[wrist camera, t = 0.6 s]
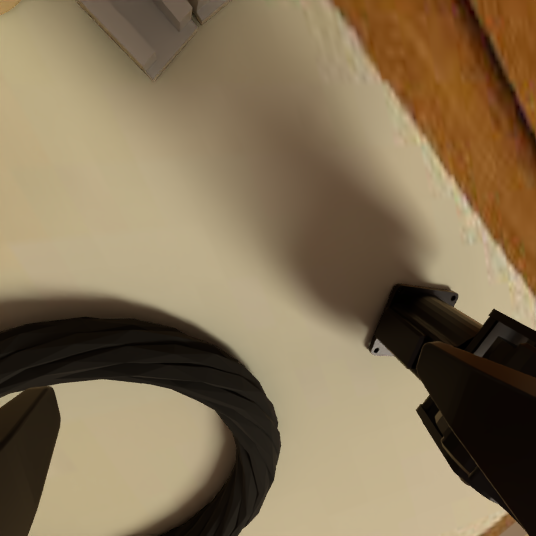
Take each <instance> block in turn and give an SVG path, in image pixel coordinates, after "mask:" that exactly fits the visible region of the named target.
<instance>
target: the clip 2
mask: <svg viewBox="0 0 536 536" xmlns="http://www.w3.org/2000/svg"><path fill="white" fill-rule="evenodd" d="M187 1H188V2H189V4H190V5H191V6H192V7H193V8H192V11H193V13H194V14H195V16H196V17H197V19H198V21H199V22H200V24H201V25H202V24H204V23H205V22H206V21H207V20H208V19H210V18H211V17H212V16H213V15H214V14H216V13H217V12H218V11H219V10H220V9H222V8H223V7H224V6H225V5H226V4H228V3H229V2H230V1H231V0H187Z"/></svg>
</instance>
